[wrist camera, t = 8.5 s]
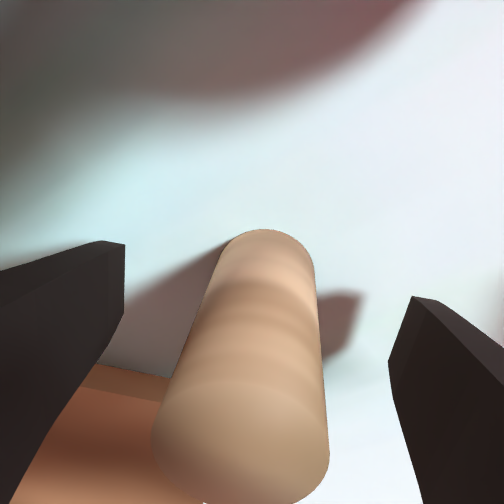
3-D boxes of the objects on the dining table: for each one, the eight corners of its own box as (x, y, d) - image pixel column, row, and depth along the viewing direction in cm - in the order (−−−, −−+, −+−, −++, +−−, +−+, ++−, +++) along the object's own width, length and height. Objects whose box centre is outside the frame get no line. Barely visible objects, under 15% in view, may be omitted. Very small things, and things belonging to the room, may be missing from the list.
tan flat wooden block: (203, 506, 17) (194, 547, 16) (-6, 463, 17) (-34, 499, 16) (225, 378, 14) (217, 414, 13) (-27, 328, 14) (-63, 357, 13)
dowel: (303, 323, 12) (308, 525, 7) (211, 306, 13) (147, 493, 7) (324, 239, 11) (350, 402, 6) (222, 220, 11) (154, 366, 6)
